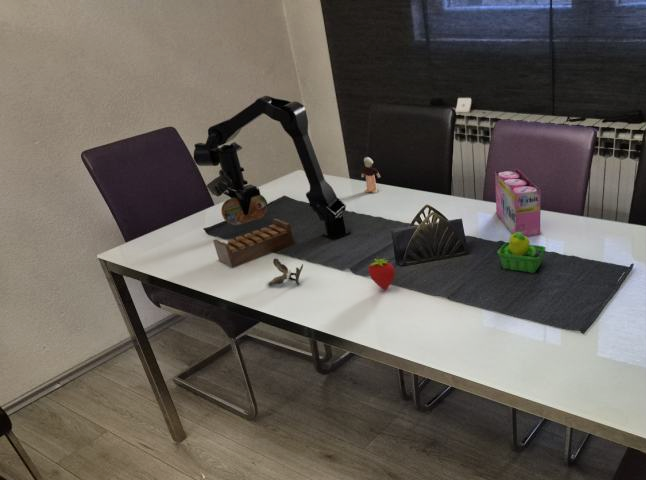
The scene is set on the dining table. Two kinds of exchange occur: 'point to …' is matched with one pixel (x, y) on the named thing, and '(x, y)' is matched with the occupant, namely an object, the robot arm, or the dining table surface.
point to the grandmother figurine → (370, 175)
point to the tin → (236, 215)
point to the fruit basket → (521, 254)
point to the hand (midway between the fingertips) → (243, 213)
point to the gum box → (518, 202)
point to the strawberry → (382, 273)
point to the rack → (254, 244)
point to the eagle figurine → (285, 273)
